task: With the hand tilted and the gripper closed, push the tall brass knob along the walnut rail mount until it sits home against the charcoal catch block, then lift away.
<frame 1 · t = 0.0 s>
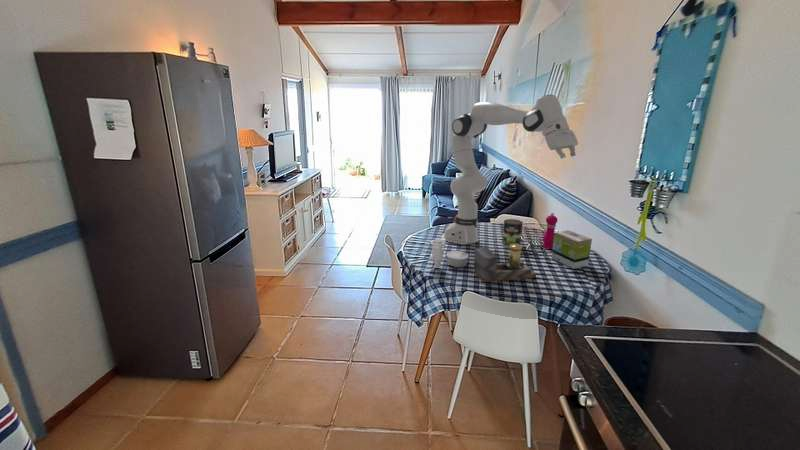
hand: (568, 157, 167), 54 cm above the table, tool tilted 30°, fingers open, 8 cm apart
tea box: (569, 262, 190), on the table
rail mount: (504, 275, 176), on the table
ramekin: (457, 264, 189), on the table
coffee can: (511, 245, 215), on the table
knob: (514, 258, 174), point 8 cm above the table, slide at 8.0 cm
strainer: (437, 268, 185), on the table
pepper mill: (548, 247, 211), on the table
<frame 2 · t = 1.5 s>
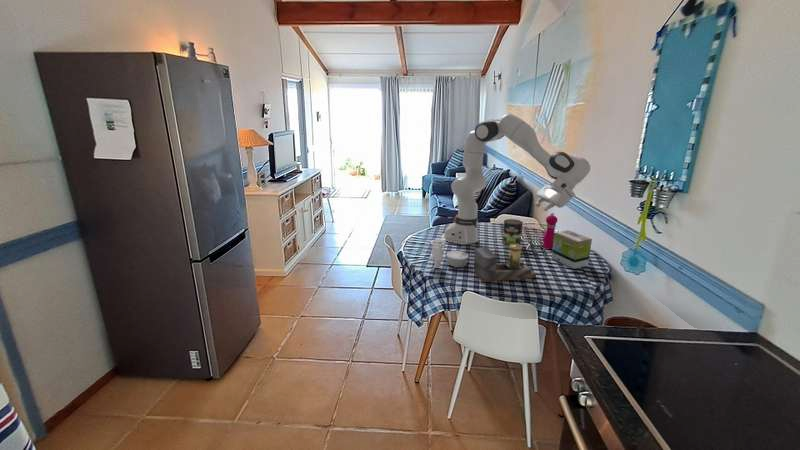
hand: (540, 208, 179), 29 cm above the table, tool tilted 45°, fingers open, 6 cm apart
nothing on the table moved.
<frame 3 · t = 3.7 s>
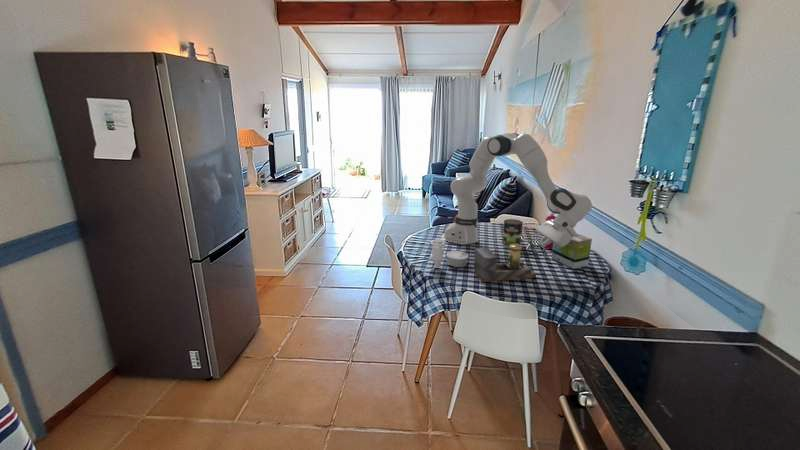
hand: (540, 245, 175), 14 cm above the table, tool tilted 45°, fingers closed
nothing on the table moved.
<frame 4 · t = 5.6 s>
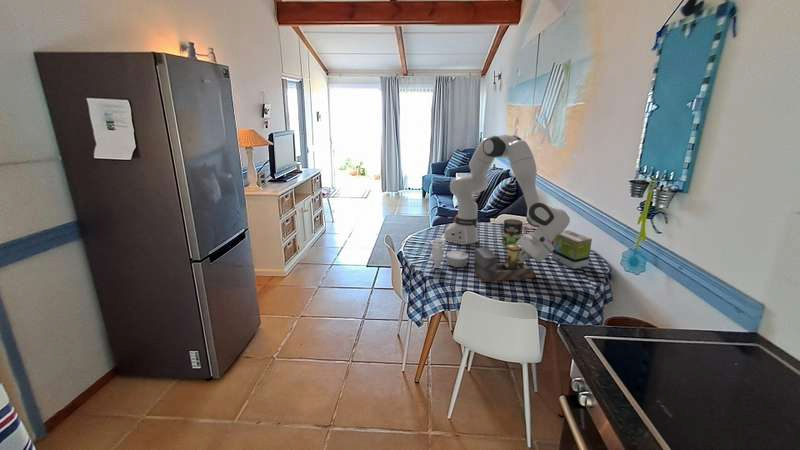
hand: (518, 259, 175), 7 cm above the table, tool tilted 45°, fingers closed, pressing on knob
knob: (512, 258, 174), point 8 cm above the table, slide at 7.1 cm, touching gripper
everything else where it was.
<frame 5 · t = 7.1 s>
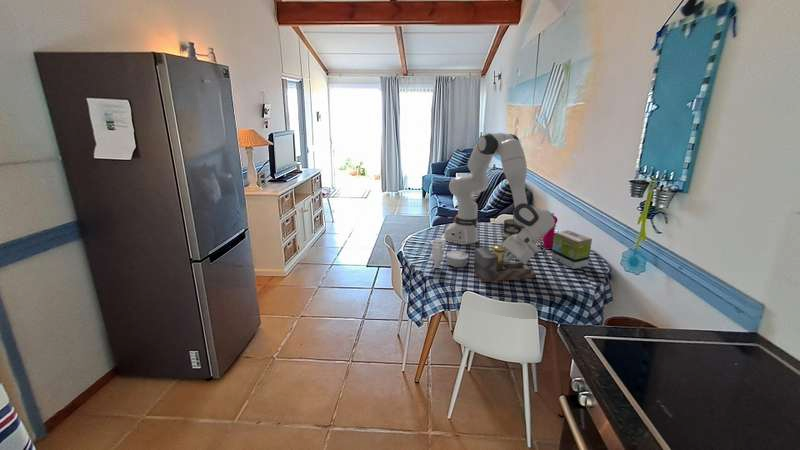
hand: (504, 260, 174), 7 cm above the table, tool tilted 45°, fingers closed, pressing on knob
knob: (498, 259, 173), point 8 cm above the table, slide at -0.1 cm, touching gripper
everything else where it was.
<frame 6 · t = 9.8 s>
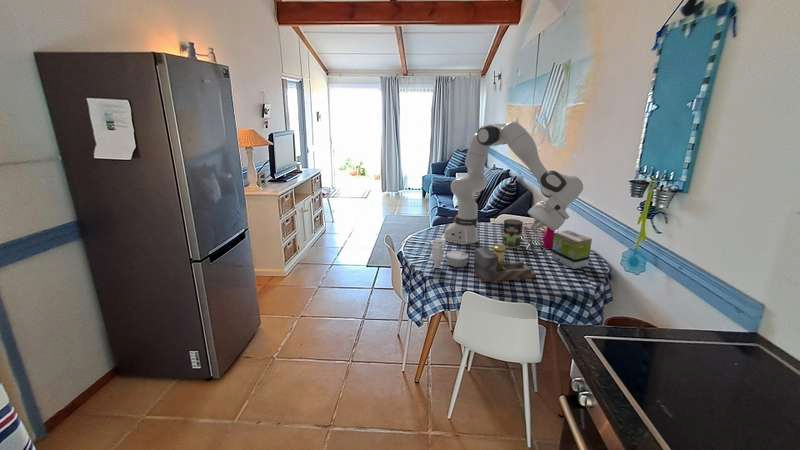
hand: (532, 229, 174), 21 cm above the table, tool tilted 40°, fingers closed
knob: (498, 259, 173), point 8 cm above the table, slide at 0.0 cm
everything else where it was.
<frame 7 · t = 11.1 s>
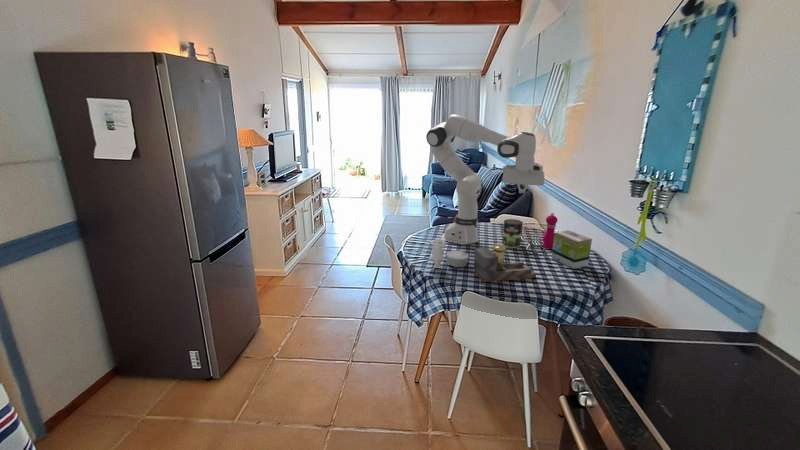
hand: (521, 192, 190), 34 cm above the table, tool pointing down, fingers closed
nothing on the table moved.
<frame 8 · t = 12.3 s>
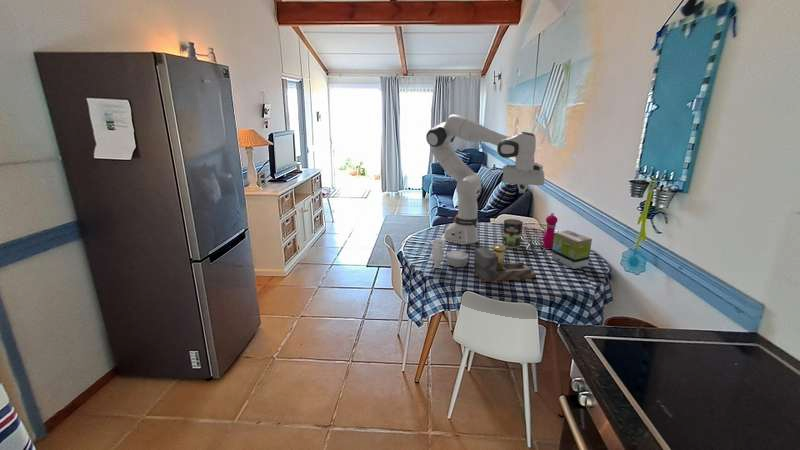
hand: (521, 192, 190), 34 cm above the table, tool pointing down, fingers closed
nothing on the table moved.
at the end: knob slide at 0.0 cm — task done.
